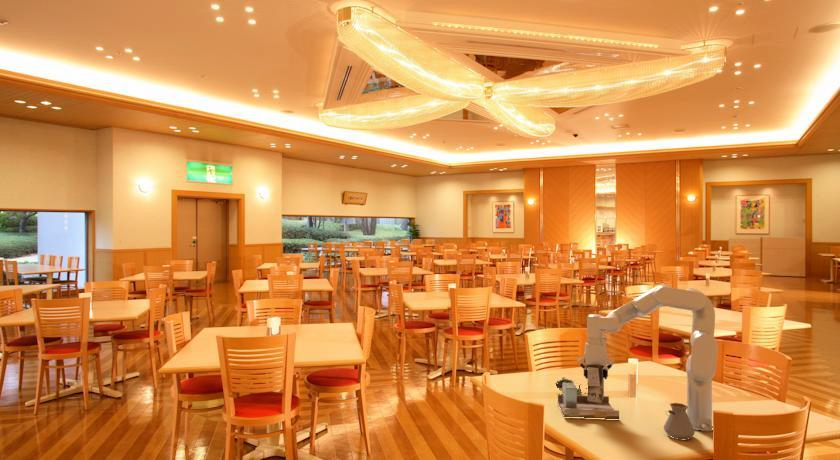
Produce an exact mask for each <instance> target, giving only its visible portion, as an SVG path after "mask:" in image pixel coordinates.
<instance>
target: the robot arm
mask: <svg viewBox="0 0 840 460" xmlns="http://www.w3.org/2000/svg"><path fill="white" fill-rule="evenodd" d="M661 307H669V308H674V309H680V310H686V311H691V313H692V321H691V322H692V324H691V333H690V338H689V342H690V346H691V351H690V352H691V354H690V355H689V356H688V357H687V358H686V362H685V371H686V406H687V407H688V408H687V409H686V413H687V415H688V418H689V420H690V422H691V424H692V426H693V429H694V431H698V430H701V431H700V432H713V431H712V428H713V426H712V423H713V380H712V379H713V378H714V377H715V374H716V369H717V361H718V353H719V351H718V350H719V345H718V341H717V339H716V338H715V330H716V329H715V328H716V327H715V326H716V311H715V308H714V305H713V303H712V301H711V300H710V298H709V297H708V296H707V295H706V294H704V292H702V291H700V290H698V289H697V288H692V287H691V288H686V289H683V288H676V287H671V286H670V285H668V284H665V283H663V284H659V285H656V286H655V287H653V288H651V289H650V290H648V291H647V292H645V293H643V294H642V295H640V296H638V297H636V298H634V299H633V300H631V301H629V302H627V303H625V304H624V305H621V306H620V307H618V308H616V309H614V310H613V311H611V312H610V313H608V314H607V315H606V316H603V315H602V314H599V313H597V314H596V313H590V314H588V315H587V319H586V320H587V321H586V330H587V331H586V335H587V336H586V340H587V341H586V342H585V344H584V349H583V350H584V351H583V356H581V357H580V358H578V359H577V361H576V362H577V363H578V364H579V365H580V367H581V368H582V369H583V377H584V378H585V379H587V380H588V366H589V365H591V366H603V367H604V369H603V377H604V380H607V379H608V377H609V373H608V372H609V370H610V369H611V368H612V366H613V365H614V364H615V361H614V360H613V359H611V358H610V357H608V351H607V344H606V342H608V338H605V332H607V333H612V334H613V333H614V334H615V333H618V332H619V331H621V329H622V327H623V325H625V324H627V323H628V322H630V321H632V320H634V319H636V318H641V317H642V318H643V317H645V316H648V315H650V314H651V313H652V312H655V311H656V310H658V309H660V308H661ZM583 362H584V364H583Z"/></svg>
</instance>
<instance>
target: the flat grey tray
mask: <svg viewBox="0 0 840 460" xmlns="http://www.w3.org/2000/svg"><path fill="white" fill-rule="evenodd" d="M587 396H588V395H585V394H582V395H577V409H574V408H564V406H563V395H560V394H557V405H558V404H559V406H560V408H561V410H562V412H561V414H562V413H563V414H562V416H563V415H564V416H563V418H564V417H584V418H605V419H619V420H620V410H619V409H615V408H614V407H613V406H612V405H611V404H610V396H609V395H604V398H603V400H602V402H601V403H597V402H591V401H587ZM559 406H558V407H559ZM560 408H559V409H560ZM561 410H560V411H561Z"/></svg>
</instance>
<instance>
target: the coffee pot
mask: <svg viewBox="0 0 840 460" xmlns="http://www.w3.org/2000/svg"><path fill="white" fill-rule="evenodd" d="M669 407H671V410H670V409H669V410H666V411H665V415H666V416H668V417H667V419H666V421H665V423H664V426H663V430H664V432H665V433H666V434H667V435H668V436H669V435H670V436H672V437H674V438H678V439H688V438H690V439H691V438H692V437H693V436H694V435H695V433H696V430H694V429H693V426H692V424H691V422H690V420H689V418H688V415H687V408H688V407H687V404H683V403H679V402H673V403H669ZM667 412H668V413H669V414H667ZM670 436H669V437H670ZM672 437H671V438H672ZM674 438H673V439H674ZM678 439H677V440H678ZM688 440H689V439H688Z"/></svg>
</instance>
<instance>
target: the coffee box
mask: <svg viewBox="0 0 840 460" xmlns="http://www.w3.org/2000/svg"><path fill="white" fill-rule="evenodd" d="M603 369H604V367H603V366H591V365H589V366H588V368H587V370H588V378H587V385H588V393H587V395H586V396H587V401H591V402H597V403H601V402H602V400H603V398H604V396H605V395H604V393H605V389H604V388H605V384H604V383H605V378H604V377H603Z"/></svg>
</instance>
